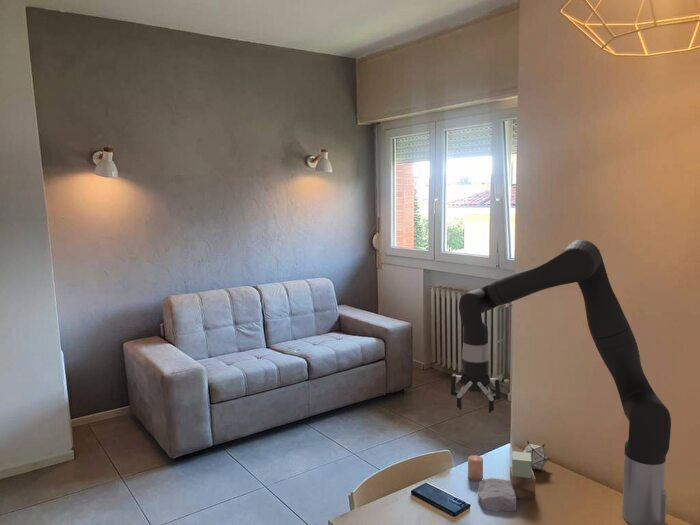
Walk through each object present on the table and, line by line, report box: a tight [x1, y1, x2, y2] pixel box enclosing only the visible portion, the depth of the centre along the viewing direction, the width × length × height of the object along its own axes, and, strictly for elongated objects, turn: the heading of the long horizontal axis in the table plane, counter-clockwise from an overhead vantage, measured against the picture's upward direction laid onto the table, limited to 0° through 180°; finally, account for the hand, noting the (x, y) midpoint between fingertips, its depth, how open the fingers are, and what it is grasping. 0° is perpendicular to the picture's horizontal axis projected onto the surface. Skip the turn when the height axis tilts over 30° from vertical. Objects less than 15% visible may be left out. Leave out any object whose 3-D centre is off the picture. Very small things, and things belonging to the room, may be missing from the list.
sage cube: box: [511, 450, 532, 478], centre depth 151 cm, size 5×5×5 cm
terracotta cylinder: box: [467, 454, 484, 482], centre depth 160 cm, size 4×4×6 cm
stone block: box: [477, 477, 517, 512], centre depth 149 cm, size 12×5×10 cm
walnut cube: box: [509, 466, 536, 500], centre depth 152 cm, size 6×6×6 cm
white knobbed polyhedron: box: [522, 440, 551, 473], centre depth 164 cm, size 9×8×10 cm
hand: (475, 410), depth 158 cm, fingers open, 8 cm apart
